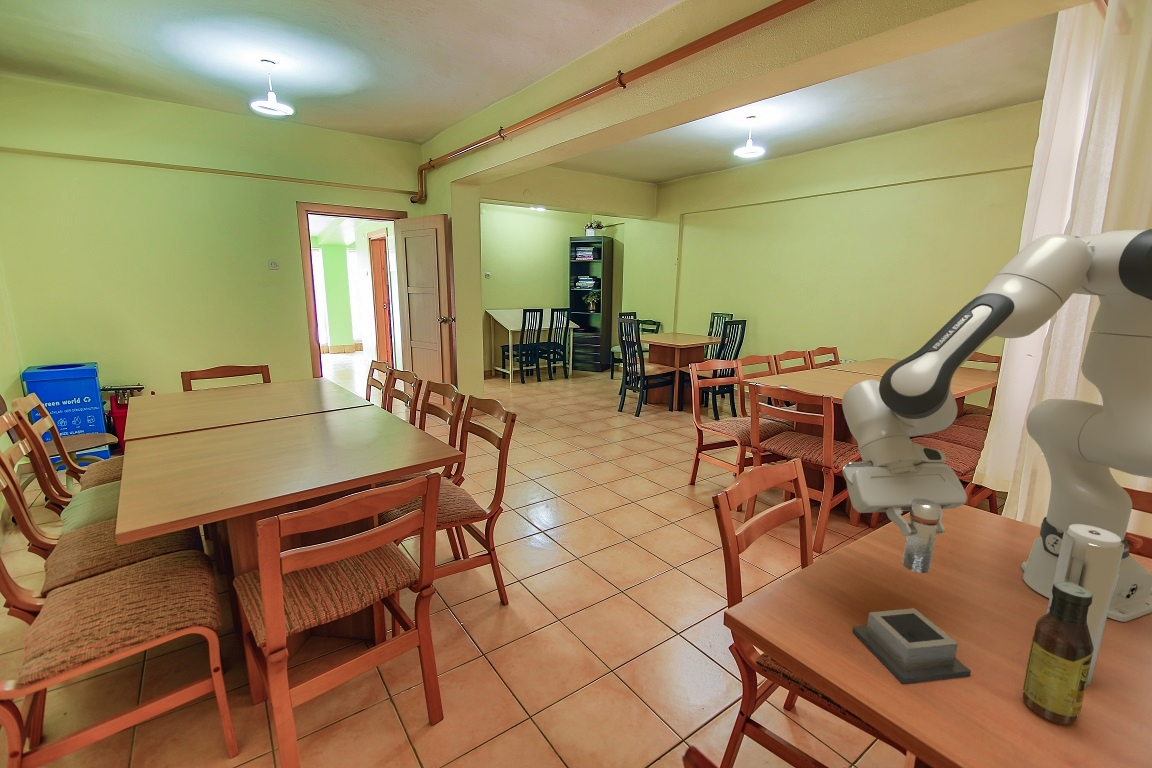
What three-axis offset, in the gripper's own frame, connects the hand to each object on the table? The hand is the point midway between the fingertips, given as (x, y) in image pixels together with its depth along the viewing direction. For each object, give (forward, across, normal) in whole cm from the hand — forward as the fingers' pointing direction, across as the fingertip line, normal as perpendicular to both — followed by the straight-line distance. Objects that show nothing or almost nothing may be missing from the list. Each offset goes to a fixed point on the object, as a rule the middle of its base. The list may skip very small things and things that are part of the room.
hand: (924, 534), depth 85 cm
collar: (+17, -3, +12) cm, 21 cm away
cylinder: (+4, 0, +5) cm, 7 cm away
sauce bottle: (+26, +9, +2) cm, 28 cm away
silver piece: (+22, +19, +7) cm, 29 cm away
